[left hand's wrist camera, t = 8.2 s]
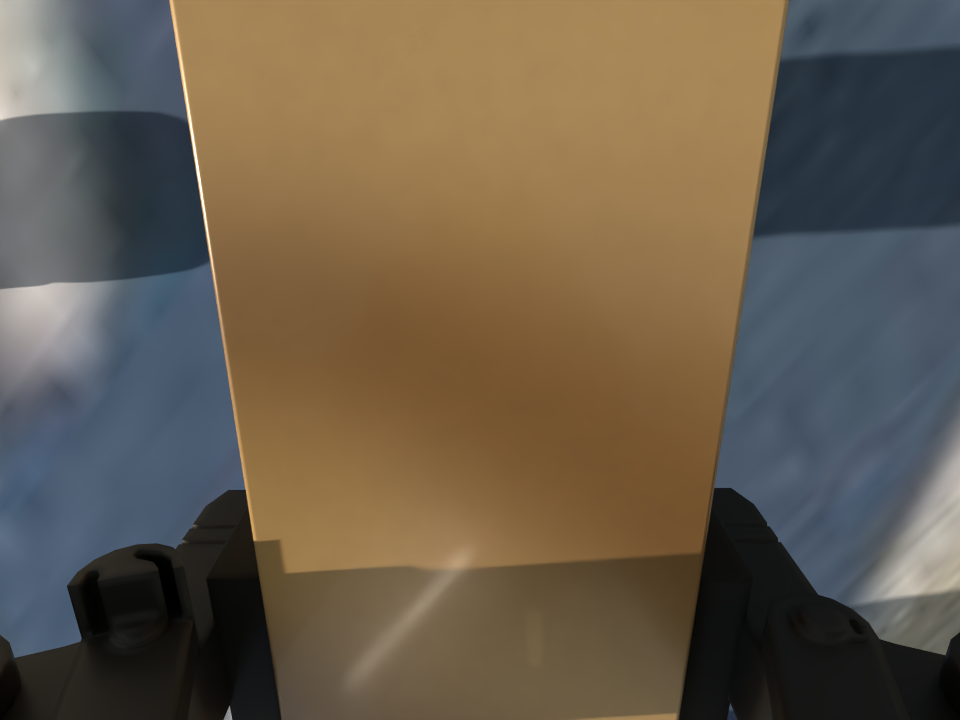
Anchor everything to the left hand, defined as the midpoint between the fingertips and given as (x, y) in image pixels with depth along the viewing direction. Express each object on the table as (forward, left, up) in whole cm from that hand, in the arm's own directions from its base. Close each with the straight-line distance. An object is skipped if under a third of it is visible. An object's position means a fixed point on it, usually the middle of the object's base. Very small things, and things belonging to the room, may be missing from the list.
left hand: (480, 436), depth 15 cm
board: (+20, +15, -1) cm, 25 cm away
